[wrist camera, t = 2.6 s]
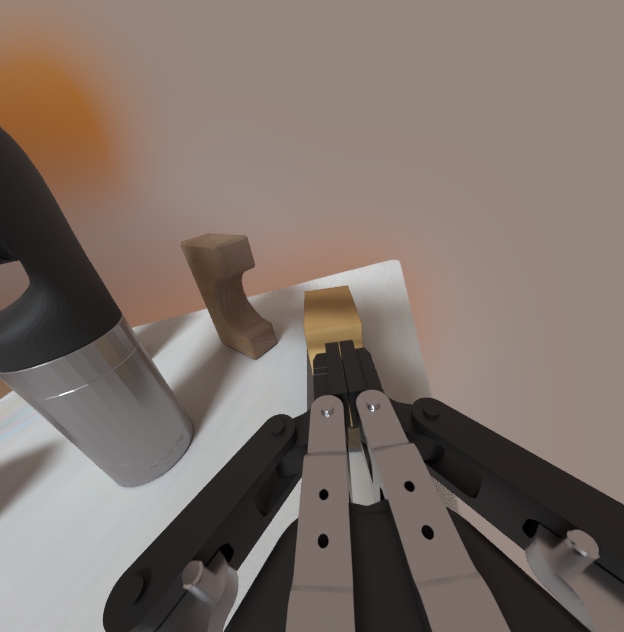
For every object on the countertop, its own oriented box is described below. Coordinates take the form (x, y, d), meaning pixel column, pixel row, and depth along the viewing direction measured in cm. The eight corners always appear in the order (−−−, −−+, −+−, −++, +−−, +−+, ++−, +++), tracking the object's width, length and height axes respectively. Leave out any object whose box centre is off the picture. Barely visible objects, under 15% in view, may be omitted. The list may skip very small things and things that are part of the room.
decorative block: (278, 344, 45) (248, 234, 35) (254, 362, 42) (213, 246, 32) (244, 328, 52) (210, 232, 42) (220, 342, 49) (178, 242, 39)
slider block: (367, 424, 28) (361, 323, 21) (324, 429, 28) (303, 331, 21) (355, 374, 35) (348, 285, 28) (320, 378, 35) (304, 291, 28)
